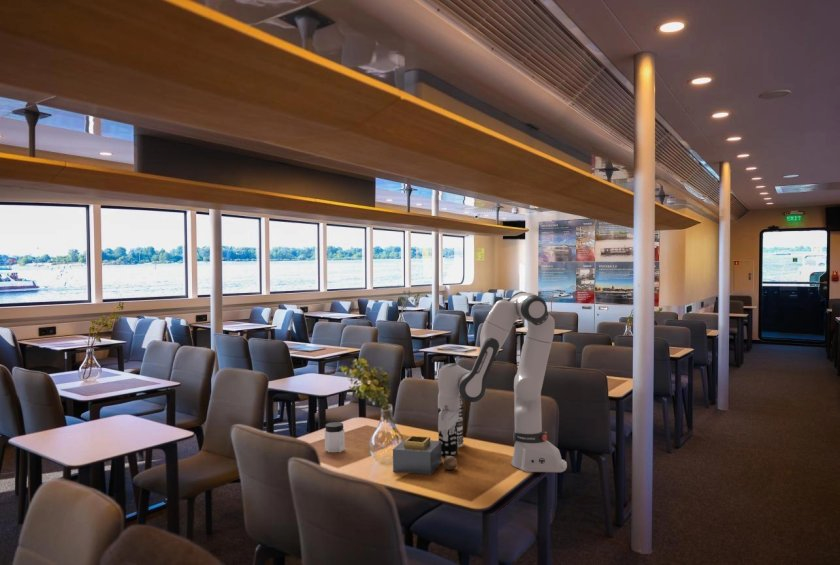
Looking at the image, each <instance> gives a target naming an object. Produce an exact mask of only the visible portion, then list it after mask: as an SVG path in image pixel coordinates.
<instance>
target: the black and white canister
mask: <svg viewBox="0 0 840 565" xmlns="http://www.w3.org/2000/svg"><path fill="white" fill-rule="evenodd" d="M460 399H461V404H460V410H459V419H458V421H457V445H458V447H459V448H460V447H463V446H464V436H463V435H464V429H463V428H464V427H463V420H464V419H463V417H464V411H463V409H464V407H463V406H465V405H464V403H463V401H462V400H463V398H462V396H461V395H460Z"/></svg>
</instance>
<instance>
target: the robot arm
mask: <svg viewBox="0 0 840 565" xmlns="http://www.w3.org/2000/svg"><path fill="white" fill-rule="evenodd" d="M519 319H522V320H525V321H526V322H527V330H526V334H525V336H524V341H523V345H522V349H521V354H520V358H519V362H518V366H517V370H516V374H515V376H514V379H513V391H514V392H513V397H514V398H513V399H514V403H513V404H514V411H513V412H514V430H513V444H514V447H513V448H514V449H513V455H512V459H511V462H510V463H511V465H512V466H513V467H515V468H516V469H520V470H521V471H522V472H526V473H527V472H529V473H530V472H531V473H534V472H535V473H563V472H565V471H566V470H567V468H568V463H567V461H566V460H565V459H562V455H561V452H560V449H559V448H557V446H555V445H554V444H553V443H551V442H550V441H548V435H547V434H548V433H547V431H544V430H543V428H542V427H543V426H542V420H543V419H542V398H541V397H542V388H543V385H544V380H545V374H546V369H547V365H548V360H549V355H550V352H551V350H552V344H553V340H554V335H555V329H556V328H555V327H556V326H555V325H556V323H555V319H554V317H553V316H552V315H550V314H549V311H548V305H547V302H546V301H545V300H544V298H542V297H541V296H539V295H537V294H535V293H532V292H526V291H519V292H516V293H514V294H513V295H512V296H511V297H510V298H508V299H500V300H499V299H498V300H497V301H495V303H494V305H493V306H492V308H491V309H490V310H489V312H488V314H487V315H486V317H485V320H484V322H483V324H482V327H481V329H480V334H479V342H480V343H479V344H480V346H479V347H480V348H479V353H478V355H477V358H476V360H475V362H474V365H473V366H472V369H471V370H470V369H469V370H468V369H466V368H465V367H462V366H460V365H459V364H458V363H455V362H453V363H452V362H451V363H450V362H449V363H446V364H443V365H442V366H440V368H439V371H438V375H437V376H438V377H437V388H438V394H437V408H438V409H439V408H440V409H441V411H440V413H439V417H438V416H437V430H439V431H441V432H442V435H443V440H444V441H447V440H448V433H447V432H448V430H449V429H450V430H449V434H454V427H455V423H456V422H457V421H458V419H459V410H460V404H461V399H460V395H461V396H462V400H465V401H466V402H469V403H475V402H479V401H480V400H481V399H482V398H483V397H484V396H485V393H486V382H487V381H486V380H487V377H488V374H489V372H490V371H491V367H492V366H493V364H494V361H495V358H496V356H497V355H498V353H499V351H500V350H501V348H502V347H503V345H504V344H505V341H506V340H507V338H508V337H509V335H510V333H511V330H512V328H513V326H514V324H515V323H516V322H517V320H519Z"/></svg>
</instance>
